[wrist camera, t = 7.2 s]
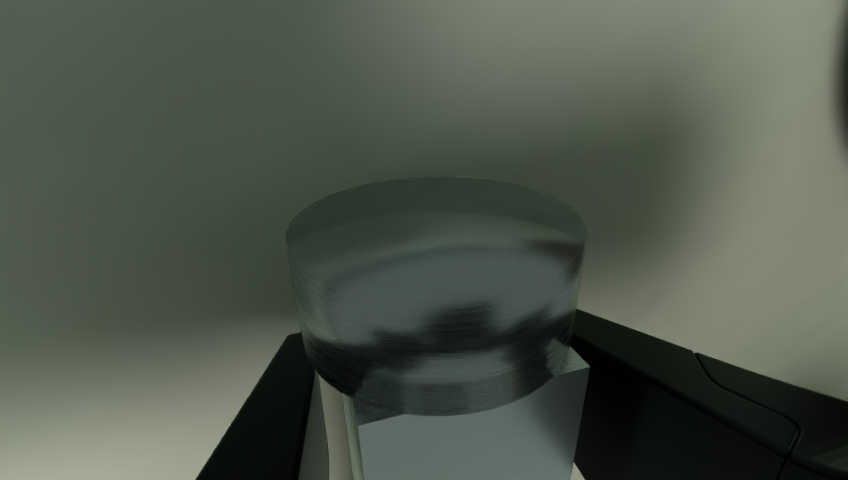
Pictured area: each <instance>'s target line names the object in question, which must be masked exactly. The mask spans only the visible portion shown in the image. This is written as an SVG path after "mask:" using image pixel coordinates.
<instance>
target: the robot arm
mask: <svg viewBox="0 0 848 480" xmlns="http://www.w3.org/2000/svg"><path fill="white" fill-rule="evenodd" d="M570 347H571V348H572V349H573V350H574V351H575V352H576V353H577V354H578V355H579V356H580V357H581V358H582V359H583V360H584V361H585V362H586V363H587V364H588V365H589V366H590V370H589V376H588V382H587V387H586V393H585V399H584V405H583V410H582V416H581V422H580V428H579V433H578V439H577V445H576V451H575V456H574V463H575V464H576V466H577V468H578V469H579V471H580V472H581V474H582V475H583V477H584V479H585V480H848V401H845V400H841V399H838V398H835V397H832V396H828V395H825V394H822V393H818V392H815V391H812V390H809V389H805V388H802V387H799V386H796V385H792V384H789V383H786V382H783V381H780V380H777V379H773V378H770V377H767V376H764V375H761V374H758V373H755V372H752V371H749V370H746V369H743V368H740V367H737V366H734V365H731V364H728V363H726V362H723V361H720V360H717V359H714V358H711V357H709V356H706V355H703V354H701V353H695V354H694V352H693V351H692V350H689V349H686V348H684V347H681V346H678V345H675V344H672V343H670V342H667V341H664V340H661V339H659V338H656V337H653V336H650V335H647V334H645V333H642V332H639V331H636V330H634V329H631V328H628V327H625V326H623V325H620V324H617V323H614V322H611V321H609V320H606V319H603V318H600V317H598V316H595V315H592V314H589V313H586V312H584V311H581V310H578V309H576V313H575V320H574V327H573V334H572V341H571V345H570ZM195 480H329V452H328V442H327V434H326V427H325V420H324V412H323V405H322V398H321V390H320V383H319V376H318V373H317V371H316V370H315V369H314V367H313V366H312V364H311V363H310V361H309V359H308V356H307V354H306V352H305V347H304V342H303V337H302V332H300V333H295V334H290V335H288V336H287V337H286V339H285V341H284V342H283V344H282V345H281V347H280V348H279V350H278V352H277V353H276V355H275V356H274V358H273V359H272V361H271V362H270V364H269V366H268V367H267V369H266V370H265V372H264V373H263V375H262V376H261V378H260V380H259V381H258V383H257V384H256V386H255V387H254V389H253V391H252V392H251V394H250V395H249V397H248V398H247V400H246V401H245V403H244V405H243V406H242V408H241V409H240V411H239V412H238V414H237V415H236V417H235V419H234V420H233V422H232V423H231V425H230V426H229V428H228V430H227V431H226V433H225V434H224V436H223V437H222V439H221V440H220V442H219V444H218V445H217V447H216V448H215V450H214V451H213V453H212V455H211V456H210V458H209V459H208V461H207V462H206V464H205V465H204V467H203V469H202V470H201V472H200V473H199V475H198V476H197V478H196V479H195Z"/></svg>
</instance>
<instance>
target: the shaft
mask: <svg viewBox="0 0 848 480" xmlns="http://www.w3.org/2000/svg"><path fill="white" fill-rule="evenodd" d="M586 238H587V233H586V227H585V225H584V223H583V221H582V219H581V218H580V217H579V216H578V214H577V213H576V212H574V211H573V210H572V209H571V208H570V207H568V206H567V205H565V204H564V203H562V202H560V201H558V200H556V199H554V198H552V197H550V196H548V195H545V194H543V193H540V192H537V191H534V190H531V189H528V188H524V187H520V186H516V185H512V184H507V183H502V182H496V181H489V180H481V179H470V178H450V177H430V178H411V179H400V180H392V181H385V182H379V183H373V184H368V185H364V186H359V187H356V188H352V189H348V190H345V191H342V192H339V193H336V194H333V195H331V196H329V197H326V198H324V199H322V200H320V201H318V202H316V203H314V204H312V205H310V206H309V207H307V208H306V209H304V210H303V211H302V212H301V213H300V214H298V215H297V216H296V217H295V218H294V220H293V221H292V222H291V223H290V225H289V227H288V230H287V233H286V243H287V249H288V255H289V261H290V267H291V272H292V278H293V284H294V290H295V296H296V302H297V308H298V313H299V319H300V325H301V331H302V337H303V342H304V347H305V352H306V354H307V356H308V359H309V361H310V363H311V364H312V366H313V367H314V369H315V370H316V371H317V373H318V374H319V375H320V376H321V377H322V378H323V379H324V380H325V381H326V382H328V383H329V384H330V385H331V386H333V387H334V388H336V389H337V390H338V391H340V392H341V393H342V398H343V405H344V413H345V420H346V428H347V435H348V443H349V450H350V458H351V465H352V473H353V480H570V479H571V474H572V468H573V462H574V456H575V451H576V445H577V439H578V433H579V428H580V422H581V416H582V410H583V405H584V399H585V393H586V387H587V382H588V376H589V370H590V366H589V365H588V364H587V363H586V362H585V361H584V360H583V359H582V358H581V357H580V356H579V355H578V354H577V353H576V352H575V351H574V350H573V349H572V348H571V347H570V345H571V341H572V334H573V327H574V320H575V313H576V307H577V300H578V293H579V286H580V279H581V272H582V266H583V259H584V252H585V245H586Z"/></svg>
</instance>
